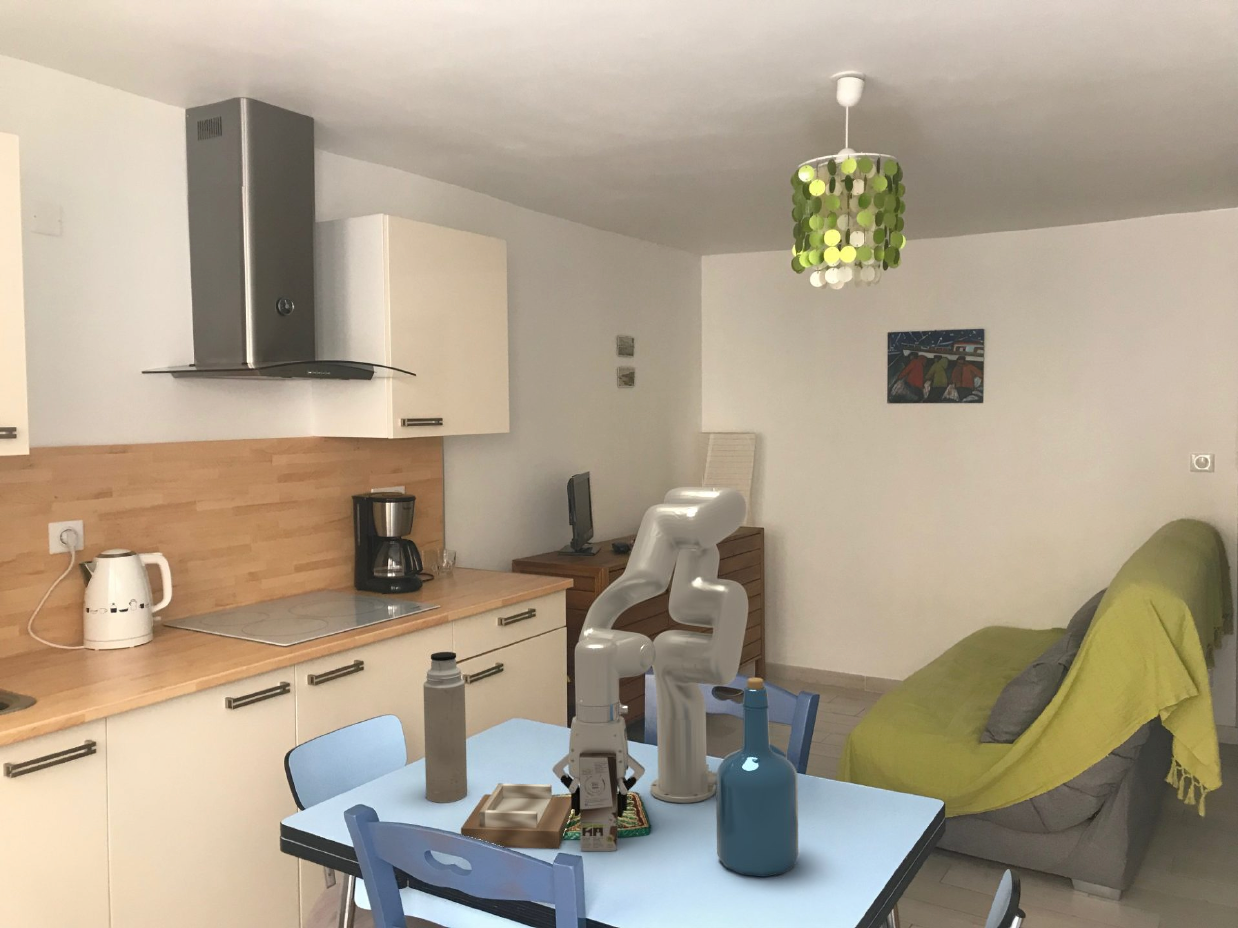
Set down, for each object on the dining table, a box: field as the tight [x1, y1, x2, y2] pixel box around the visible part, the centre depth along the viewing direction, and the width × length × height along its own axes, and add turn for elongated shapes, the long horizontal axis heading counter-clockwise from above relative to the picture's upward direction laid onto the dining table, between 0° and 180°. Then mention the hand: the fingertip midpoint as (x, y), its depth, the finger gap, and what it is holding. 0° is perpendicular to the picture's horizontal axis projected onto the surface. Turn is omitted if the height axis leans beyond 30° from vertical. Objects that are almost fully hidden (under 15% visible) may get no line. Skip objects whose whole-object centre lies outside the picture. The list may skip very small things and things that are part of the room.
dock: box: [460, 783, 572, 850], centre depth 175 cm, size 17×16×6 cm
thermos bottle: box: [423, 651, 468, 804], centre depth 192 cm, size 8×8×28 cm
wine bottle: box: [715, 677, 799, 877], centre depth 160 cm, size 14×13×30 cm
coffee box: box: [579, 753, 619, 852], centre depth 169 cm, size 9×6×16 cm
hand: (599, 812), depth 169 cm, fingers open, 6 cm apart
